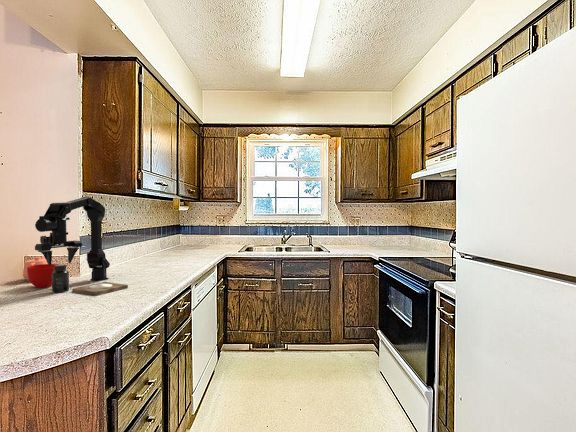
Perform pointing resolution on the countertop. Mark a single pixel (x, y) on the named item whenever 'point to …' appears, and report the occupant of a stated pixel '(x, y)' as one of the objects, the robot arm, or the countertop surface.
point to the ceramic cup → (41, 275)
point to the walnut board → (99, 288)
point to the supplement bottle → (60, 279)
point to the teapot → (30, 263)
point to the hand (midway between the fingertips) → (59, 264)
